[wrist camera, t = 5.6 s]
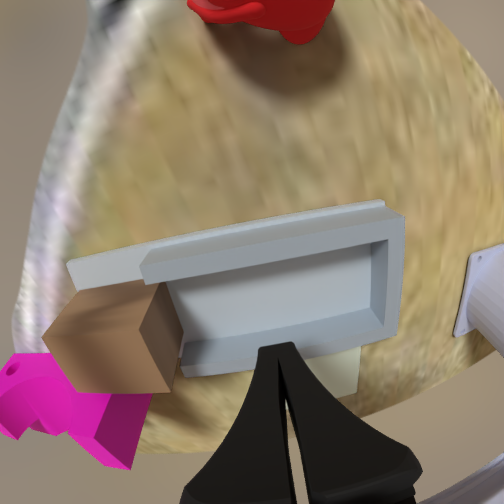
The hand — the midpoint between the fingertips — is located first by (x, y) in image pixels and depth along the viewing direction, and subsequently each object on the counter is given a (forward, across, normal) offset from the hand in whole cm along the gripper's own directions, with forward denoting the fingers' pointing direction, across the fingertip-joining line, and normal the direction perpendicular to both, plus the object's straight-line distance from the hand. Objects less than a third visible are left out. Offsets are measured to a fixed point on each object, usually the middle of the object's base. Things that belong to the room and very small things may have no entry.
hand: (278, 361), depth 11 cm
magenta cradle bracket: (+6, +17, +6) cm, 19 cm away
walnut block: (+6, +8, 0) cm, 10 cm away
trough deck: (+6, +2, 0) cm, 7 cm away
